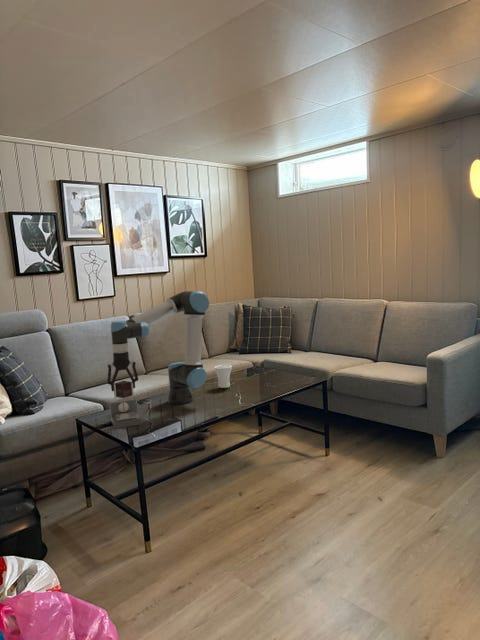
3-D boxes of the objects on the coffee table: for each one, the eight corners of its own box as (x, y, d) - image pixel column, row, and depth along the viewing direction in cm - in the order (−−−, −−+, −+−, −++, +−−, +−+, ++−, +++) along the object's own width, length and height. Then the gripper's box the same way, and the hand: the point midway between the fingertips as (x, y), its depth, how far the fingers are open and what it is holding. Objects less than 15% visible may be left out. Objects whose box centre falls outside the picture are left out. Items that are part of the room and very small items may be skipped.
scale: (136, 417, 252) (134, 398, 252) (141, 424, 240) (139, 404, 239) (111, 421, 248) (109, 402, 247) (114, 428, 235) (113, 408, 234)
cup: (213, 389, 302) (211, 368, 301) (219, 385, 313) (217, 364, 311) (229, 390, 299) (228, 368, 297) (235, 386, 309) (234, 364, 308)
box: (132, 395, 241) (131, 381, 241) (122, 398, 237) (121, 384, 236) (125, 394, 245) (124, 380, 244) (115, 397, 241) (114, 382, 240)
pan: (134, 412, 248) (134, 411, 248) (137, 417, 240) (137, 415, 239) (114, 416, 244) (114, 414, 244) (116, 420, 236) (116, 419, 236)
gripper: (139, 348, 246) (143, 391, 248) (98, 353, 238) (102, 397, 240) (142, 350, 239) (145, 394, 241) (100, 355, 231) (103, 400, 234)
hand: (124, 395), depth 241 cm, fingers closed on box, 8 cm apart
